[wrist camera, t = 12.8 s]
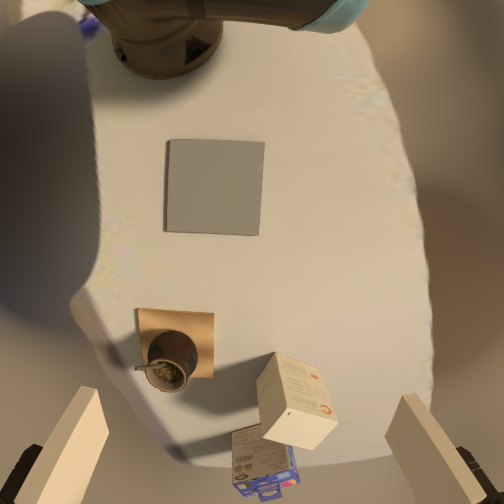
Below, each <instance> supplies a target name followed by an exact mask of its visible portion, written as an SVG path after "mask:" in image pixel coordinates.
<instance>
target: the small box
mask: <svg viewBox="0 0 504 504" xmlns="http://www.w3.org/2000/svg"><path fill="white" fill-rule="evenodd" d="M256 387H257V397H258V405H259V414H260V423H261V432H262V438H264V439H268V440H271V441H275V442H279V443H283V444H287V445H291V446H295V447H299V448H303V449H308V450H313V449H314V448H315V447H316V446H317V445H318V444H319V443H320V442H321V441H322V440H323V439H324V438H325V437H326V436H327V435H328V434H329V432H330V431H331V430H332V429H333V428H334V427H335V426H336V425H337V424H338V420H337V417H336V415H335V412H334V410H333V407H332V404H331V402H330V399H329V397H328V394H327V392H326V389H325V386H324V384H323V381H322V379H321V376H320V374H319V371H318V369H317V368H315V367H312V366H310V365H307V364H305V363H302V362H300V361H297V360H295V359H292V358H289V357H287V356H284V355H282V354H279V353H277V352H275V353H274V354H273V356H272V357H271V359H270V360H269V362H268V363H267V365H266V366H265V368H264V369H263V371H262V372H261V374H260V375H259V377H258V378H257V380H256Z"/></svg>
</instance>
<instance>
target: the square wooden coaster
mask: <svg viewBox="0 0 504 504" xmlns="http://www.w3.org/2000/svg"><path fill="white" fill-rule="evenodd" d="M138 318H139V329H140V339H141V349H142V357H143V365H144V366H146V365H147V364H148V358H147V353H148V349H149V346H150V343H151V342H152V341H153V340H154V339H155V338H156V337H157V336H159V335H160V334H161V333H163V332H168V331H171V330H176V331H180V332H183V333H185V334H186V335H188V336H189V337H190V338H191V339H192V340H193V342H194V344H195V346H196V349H197V353H198V363H197V367H196V369H195V371H194V372H193V373H192V375H191V376H189V377H197V378H213V376H214V313H203V312H187V311H172V310H159V309H147V308H139V309H138ZM145 370H146V369H145ZM145 370H144V372H145Z"/></svg>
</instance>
